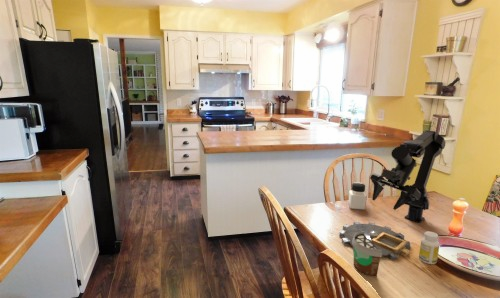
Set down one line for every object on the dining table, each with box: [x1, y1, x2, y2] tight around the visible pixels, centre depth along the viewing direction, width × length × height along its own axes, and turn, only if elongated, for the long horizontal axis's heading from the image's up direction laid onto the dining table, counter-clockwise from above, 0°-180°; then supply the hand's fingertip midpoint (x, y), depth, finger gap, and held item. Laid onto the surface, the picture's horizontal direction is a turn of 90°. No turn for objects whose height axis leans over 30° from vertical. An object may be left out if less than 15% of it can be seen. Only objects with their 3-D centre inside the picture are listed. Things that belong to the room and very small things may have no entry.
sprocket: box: [339, 221, 411, 261], centre depth 110 cm, size 25×25×4 cm
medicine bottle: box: [348, 182, 368, 211], centre depth 141 cm, size 7×7×12 cm
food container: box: [352, 232, 383, 278], centre depth 93 cm, size 12×6×10 cm, turn 5°
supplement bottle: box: [418, 231, 441, 265], centre depth 98 cm, size 5×5×10 cm
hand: (383, 204), depth 110 cm, fingers open, 9 cm apart
